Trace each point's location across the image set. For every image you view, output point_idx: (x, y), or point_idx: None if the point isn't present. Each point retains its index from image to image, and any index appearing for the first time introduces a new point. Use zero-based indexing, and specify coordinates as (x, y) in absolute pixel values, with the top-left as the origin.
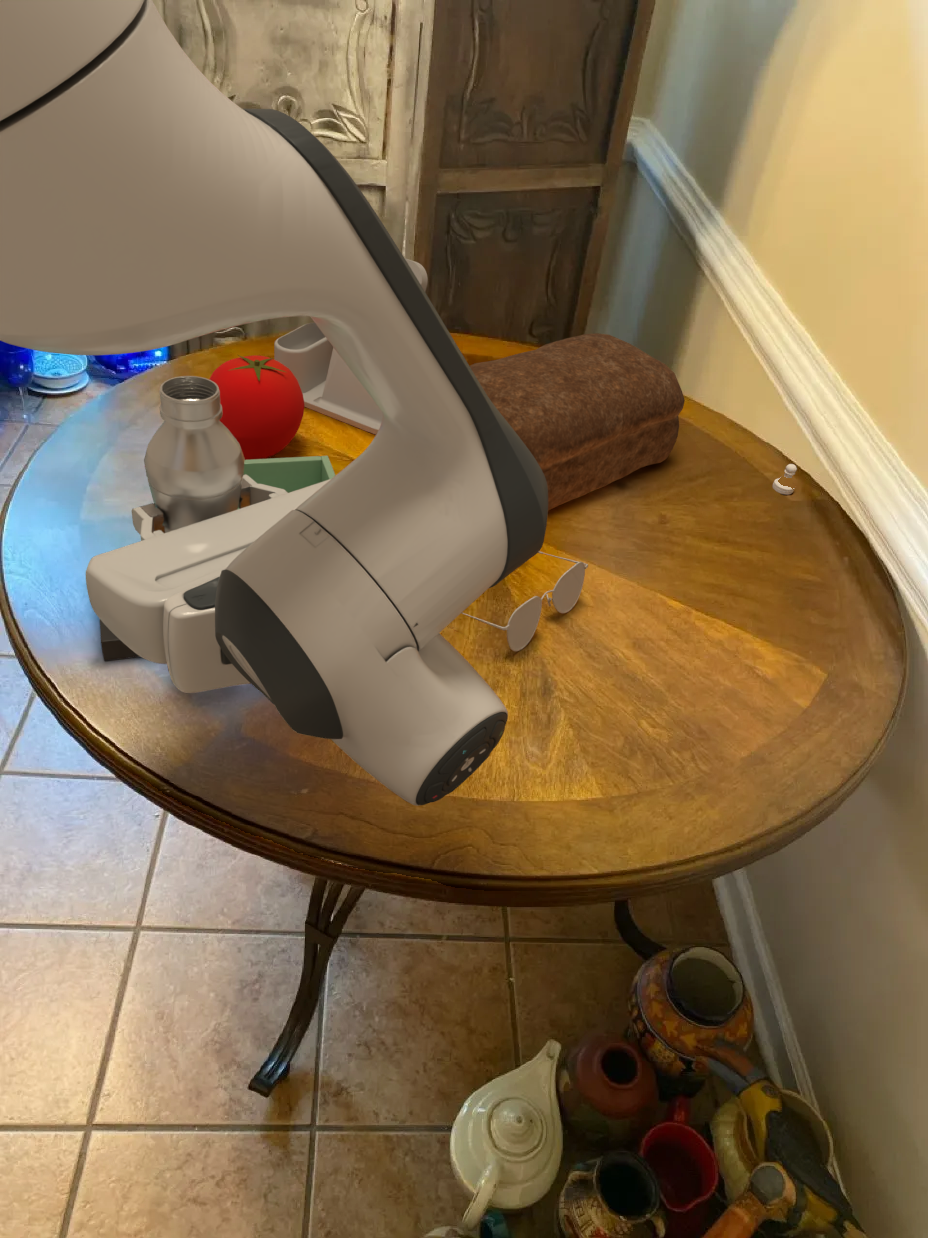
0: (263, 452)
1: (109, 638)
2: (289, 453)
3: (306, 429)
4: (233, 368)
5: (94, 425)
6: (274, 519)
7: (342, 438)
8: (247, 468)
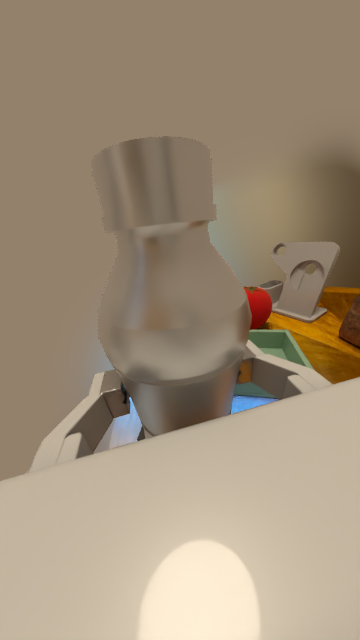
0: (251, 327)
1: (142, 437)
2: (262, 328)
3: (270, 319)
4: None
5: None
6: (345, 496)
7: (288, 323)
8: None
